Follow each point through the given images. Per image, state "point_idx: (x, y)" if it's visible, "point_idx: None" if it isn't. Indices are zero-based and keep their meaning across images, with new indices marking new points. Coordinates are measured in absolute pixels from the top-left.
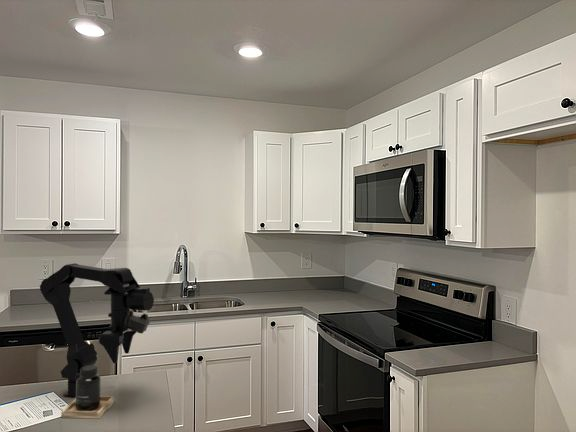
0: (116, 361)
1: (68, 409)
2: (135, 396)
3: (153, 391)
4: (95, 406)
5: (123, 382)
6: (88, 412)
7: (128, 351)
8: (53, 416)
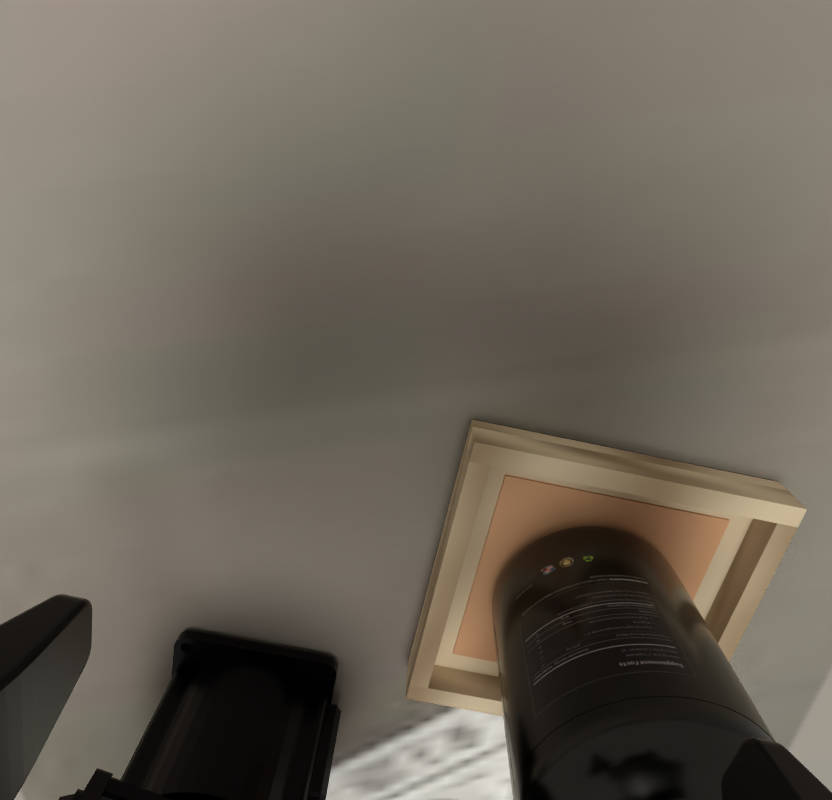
0: (815, 779)
1: None
2: (374, 243)
3: (258, 50)
4: (662, 556)
5: (25, 407)
6: (765, 585)
7: (64, 625)
8: None
